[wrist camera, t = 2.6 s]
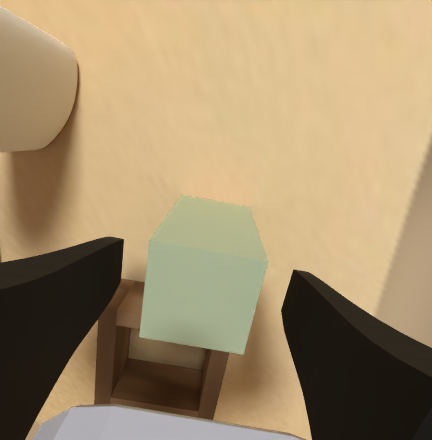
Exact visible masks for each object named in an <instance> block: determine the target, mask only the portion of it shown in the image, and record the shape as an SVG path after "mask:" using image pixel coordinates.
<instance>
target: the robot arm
mask: <svg viewBox="0 0 432 440" xmlns="http://www.w3.org/2000/svg"><path fill="white" fill-rule="evenodd" d="M123 244H124V239H120V238H114V237H104V238H100V239H96V240H92V241H89V242H86V243H82V244H79V245H76V246H72V247H69V248H66V249H62V250H58V251H54V252H50V253H47V254H43V255H39V256H34V257H30V258H25V259H19V260H14V261H8V262H2V263H0V440H25V438H26V437H27V435H28V433H29V431H30V429H31V427H32V425H33V423H34V421H35V420H36V418H37V416H38V414H39V412H40V410H41V408H42V407H43V405H44V403H45V401H46V399H47V398H48V396H49V394H50V392H51V390H52V389H53V387H54V385H55V383H56V382H57V380H58V378H59V376H60V375H61V373H62V371H63V370H64V368H65V366H66V364H67V363H68V361H69V359H70V358H71V356H72V355H73V353H74V352H75V350H76V349H77V347H78V346H79V344H80V343H81V342H82V340H83V339H84V337H85V336H86V335H87V333H88V332H89V331H90V329H91V328H92V326H93V325H94V324H95V322H96V321H97V320H98V318H99V317H100V316H101V314H102V313H103V311H104V310H105V309H106V307H107V306H108V304H109V303H110V301H111V300H112V298H113V296H114V294H115V292H116V290H117V288H118V286H119V284H120V282H121V272H122V258H123ZM281 312H282V319H283V326H284V332H285V335H286V339H287V342H288V345H289V349H290V352H291V355H292V358H293V362H294V365H295V368H296V371H297V374H298V378H299V381H300V384H301V388H302V392H303V396H304V400H305V405H306V410H307V415H308V420H309V425H310V430H311V436H312V440H432V348H431V347H428V346H427V345H424V344H422V343H420V342H418V341H416V340H414V339H412V338H410V337H408V336H407V335H404V334H403V333H401V332H399V331H397V330H395V329H394V328H392V327H390V326H388V325H387V324H385V323H383V322H381V321H380V320H378V319H377V318H375V317H373V316H372V315H370V314H369V313H367V312H366V311H364V310H362V309H361V308H359V307H358V306H356V305H355V304H353V303H352V302H351V301H349V300H348V299H346V298H345V297H344V296H342V295H341V294H339V293H338V292H337V291H335V290H334V289H332V288H331V287H330V286H328V285H327V284H326V283H324V282H323V281H321V280H320V279H319V278H317V277H316V276H314V275H312V274H311V273H309V272H305V271H299V270H293V273H292V276H291V280H290V283H289V286H288V289H287V293H286V296H285V299H284V303H283V306H282V309H281ZM32 440H306V439H303V438H300V437H298V436H295V435H293V434H290V433H286V432H280V431H274V430H268V429H262V428H256V427H250V426H244V425H238V424H232V423H226V422H220V421H214V420H208V419H202V418H196V417H190V416H184V415H178V414H172V413H166V412H160V411H154V410H148V409H142V408H136V407H130V406H124V405H118V404H103V405H79V406H75V407H71V408H70V409H68V410H66V411H64V412H62V413H61V414H59V415H57V416H55V417H53V418H52V419H50V420H48V421H46V422H44V423H42V425H41V426H40V428H39V430H38V431H37V433H36V434H35V436H34V437H33V439H32Z"/></svg>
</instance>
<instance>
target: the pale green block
mask: <svg viewBox="0 0 432 440" xmlns="http://www.w3.org/2000/svg"><path fill="white" fill-rule="evenodd" d="M267 264H268V259H267V256H266V253H265V250H264V247H263V244H262V241H261V238H260V235H259V232H258V230H257V227H256V224H255V221H254V218H253V215H252V212H251V209H250V207H248V206H242V205H237V204H231V203H226V202H220V201H215V200H209V199H204V198H198V197H192V196H187V195H182V196H181V197H180V199H179V200H178V201H177V203H176V204H175V205H174V207H173V208H172V210H171V211H170V212H169V214H168V215H167V217H166V218H165V219H164V221H163V222H162V223H161V225H160V226H159V228H158V229H157V230H156V232H155V233H154V234H153V236H152V237H151V239H150V240H149V249H148V258H147V267H146V277H145V286H144V296H143V305H142V315H141V324H140V334H139V337H141V338H147V339H153V340H159V341H165V342H171V343H177V344H183V345H189V346H195V347H201V348H207V349H213V350H219V351H225V352H231V353H237V354H243V355H244V351H245V347H246V343H247V340H248V336H249V332H250V328H251V325H252V321H253V317H254V313H255V310H256V306H257V302H258V298H259V294H260V291H261V287H262V283H263V279H264V276H265V272H266V268H267Z"/></svg>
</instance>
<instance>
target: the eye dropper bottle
mask: <svg viewBox="0 0 432 440" xmlns="http://www.w3.org/2000/svg"><path fill="white" fill-rule="evenodd" d="M77 76H78V72H77V61H76V58H75V55H74V53H73V51H72V50H71V49H70V48H69V47H68V46H67V45H65V44H64V43H62V42H61V41H59V40H58V39H56V38H54V37H53V36H51V35H50V34H48V33H46V32H45V31H43V30H41V29H40V28H38V27H36V26H34V25H33V24H31V23H29V22H27V21H26V20H24V19H22V18H21V17H19V16H17V15H15V14H14V13H12V12H10V11H8V10H7V9H5V8H3V7H2V6H0V152H13V151H27V150H37V149H41V148H44V147H45V146H47V145H48V144H49V143H50V142H51V141H52V140H53V139H54V138H55V137H56V136H57V135H58V134H59V132H60V131H61V130H62V128H63V127H64V125H65V123H66V122H67V120H68V118H69V116H70V113H71V111H72V108H73V105H74V101H75V96H76V90H77Z"/></svg>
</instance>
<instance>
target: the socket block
mask: <svg viewBox="0 0 432 440" xmlns="http://www.w3.org/2000/svg"><path fill="white" fill-rule="evenodd" d="M144 286H145V283H143V282H137V281H131V280H126V279H121V282H120V284H119V286H118V288H117V290H116V292H115V294H114V296H113V298H112V300H111V301H110V303H109V304H108V306H107V307H106V309H105V310H104V311H103V313H102V314H101V316H100V317H99V318H98V336H97V358H96V379H95V401H94V405H103V404H118V405H124V406H130V407H136V408H142V409H148V410H154V411H160V412H166V413H172V414H178V415H184V416H190V417H196V418H202V419H208V420H213V417H214V413H215V409H216V405H217V401H218V397H219V393H220V388H221V384H222V380H223V376H224V372H225V368H226V364H227V360H228V356H229V352H225V351H219V350H213V349H207V351H206V356H205V361H204V365H203V370H202V371H201V370H195V369H189V368H183V367H177V366H171V365H165V364H159V363H153V362H147V361H141V360H135V359H129V358H128V352H129V342H130V331H131V328H136V329H140V324H141V315H142V305H143V296H144Z"/></svg>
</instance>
